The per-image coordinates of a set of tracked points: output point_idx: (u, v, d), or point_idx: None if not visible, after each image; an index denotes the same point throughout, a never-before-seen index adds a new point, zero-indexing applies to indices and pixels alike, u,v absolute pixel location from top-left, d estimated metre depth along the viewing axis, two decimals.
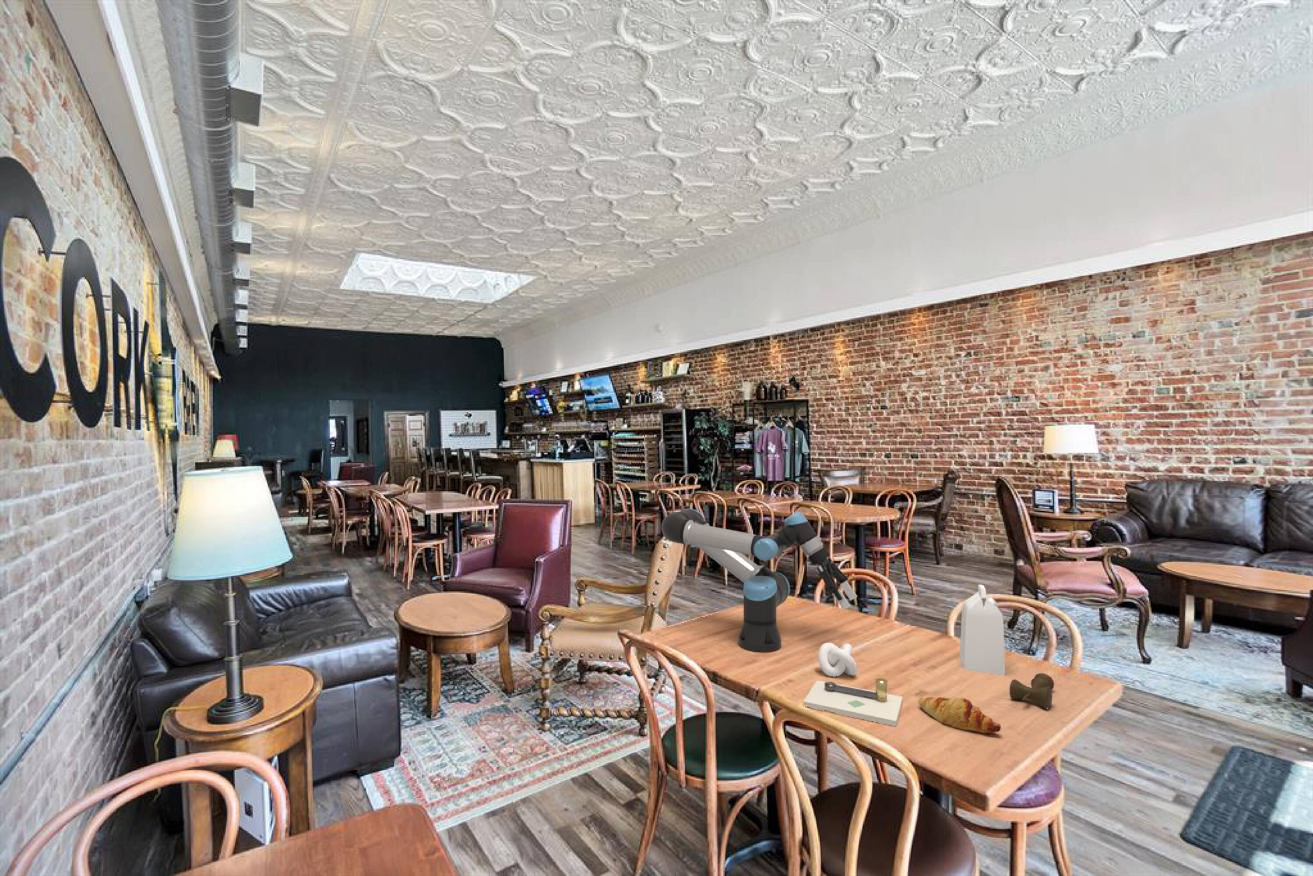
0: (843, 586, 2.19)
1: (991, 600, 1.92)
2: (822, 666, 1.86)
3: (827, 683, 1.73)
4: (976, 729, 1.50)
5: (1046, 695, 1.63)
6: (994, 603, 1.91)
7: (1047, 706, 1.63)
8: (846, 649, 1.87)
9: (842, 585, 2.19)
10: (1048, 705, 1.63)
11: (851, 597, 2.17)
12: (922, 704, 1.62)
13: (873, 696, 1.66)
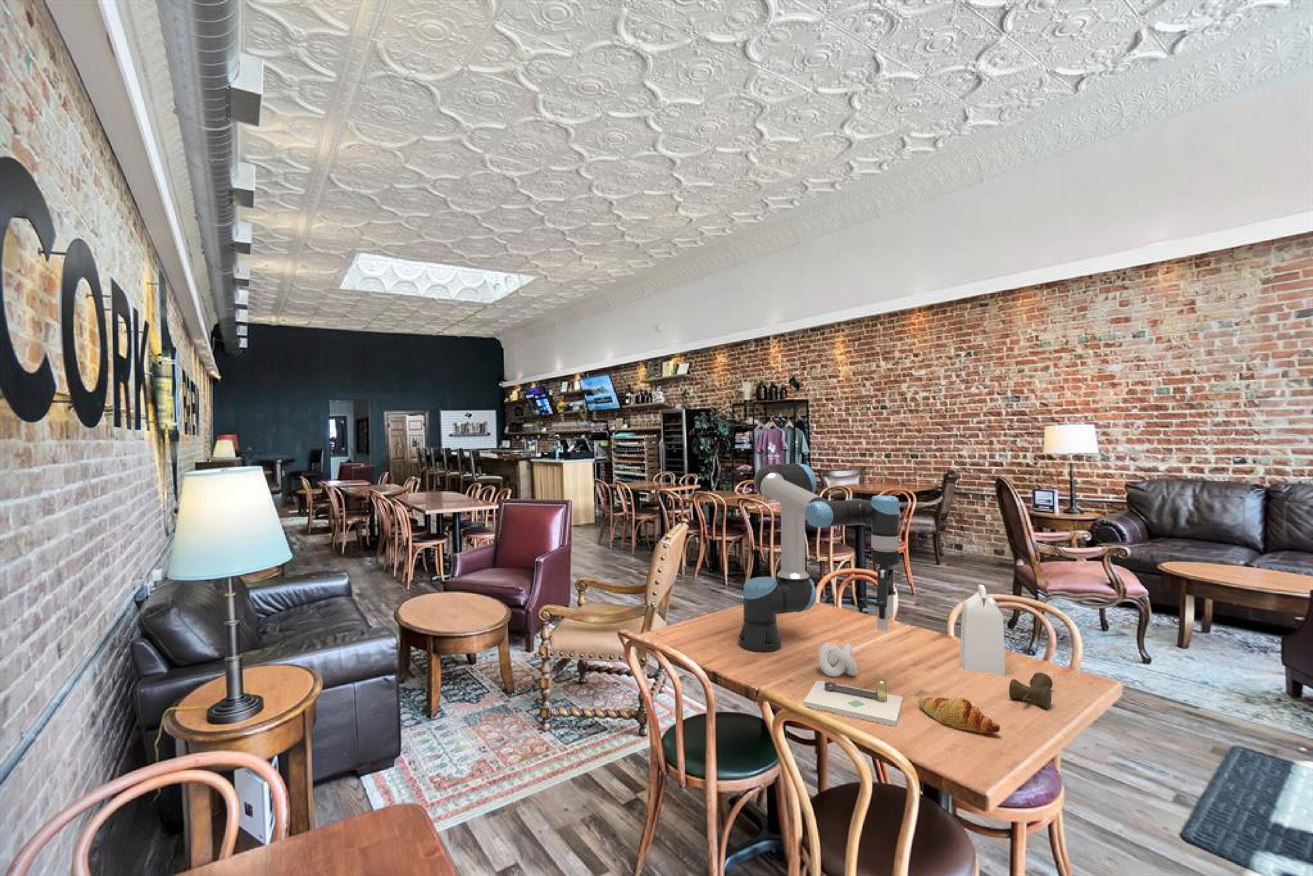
0: None
1: (991, 600, 1.92)
2: (822, 666, 1.86)
3: (827, 683, 1.73)
4: (975, 730, 1.50)
5: (1045, 695, 1.63)
6: (994, 603, 1.91)
7: (1047, 706, 1.63)
8: (846, 649, 1.87)
9: None
10: (1048, 705, 1.64)
11: None
12: (922, 704, 1.62)
13: (873, 696, 1.66)
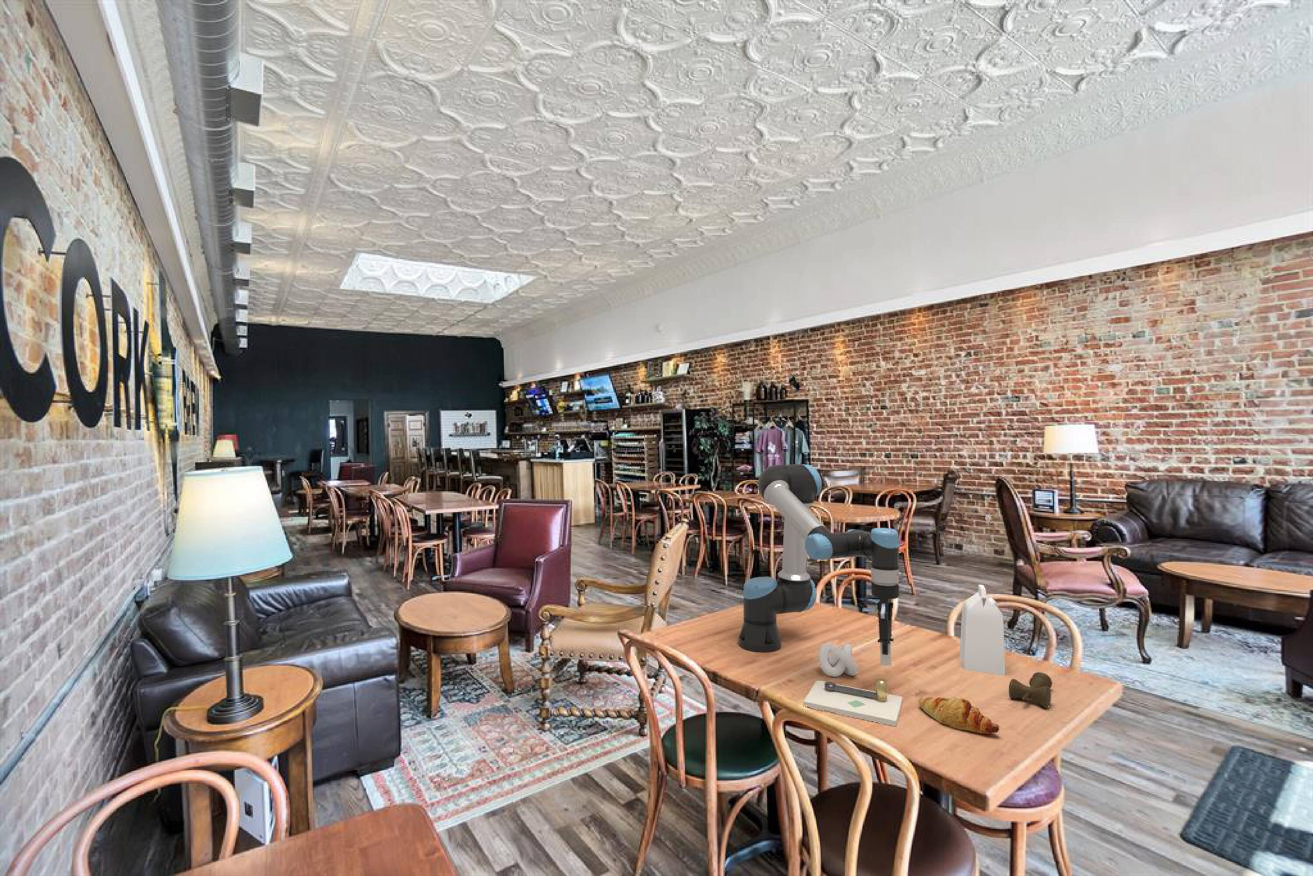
0: None
1: (991, 600, 1.92)
2: (822, 666, 1.86)
3: (827, 683, 1.73)
4: (974, 730, 1.50)
5: (1045, 694, 1.63)
6: (994, 603, 1.91)
7: (1046, 705, 1.63)
8: (846, 649, 1.87)
9: None
10: (1047, 704, 1.64)
11: None
12: (921, 704, 1.62)
13: (873, 696, 1.66)
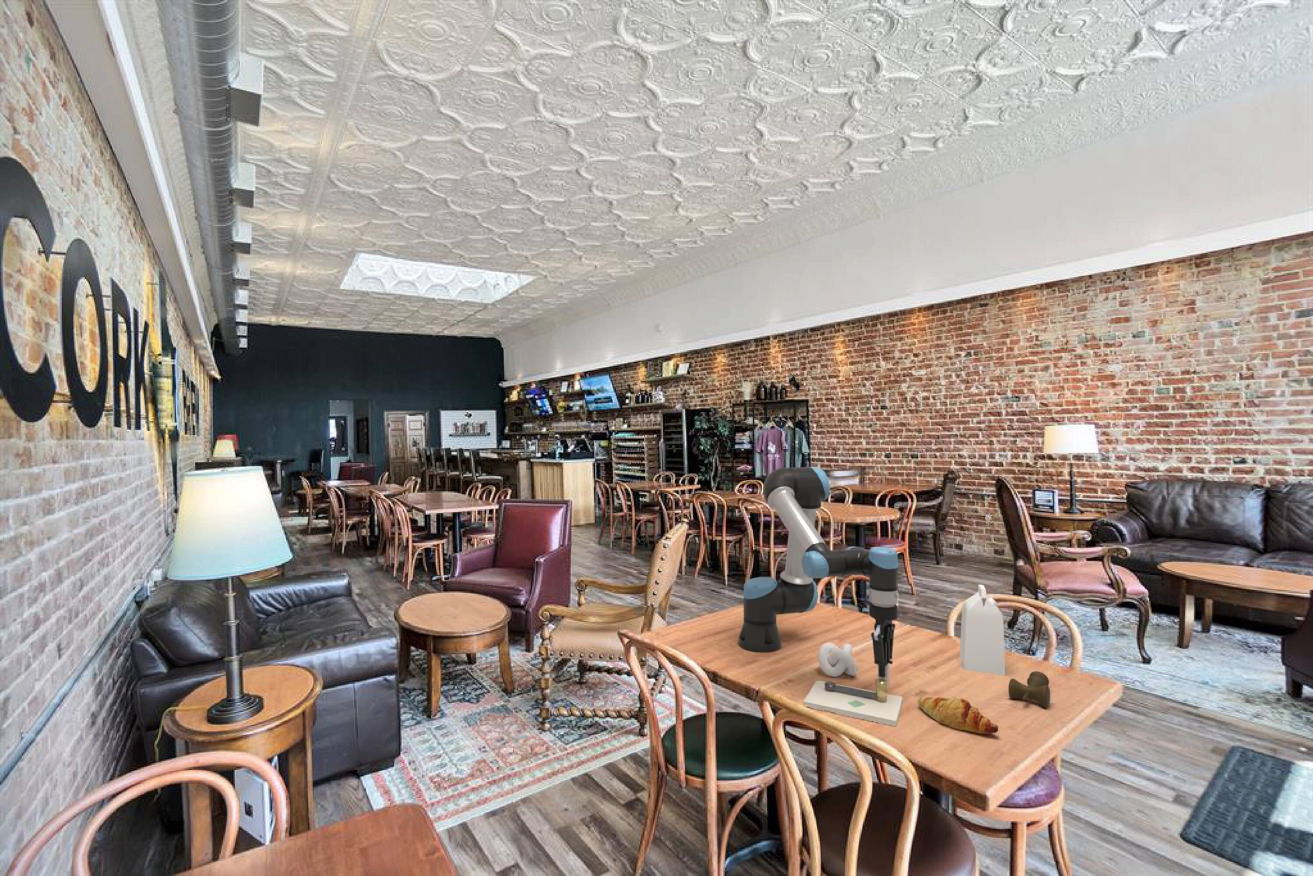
0: None
1: (991, 600, 1.92)
2: (822, 666, 1.86)
3: (827, 683, 1.73)
4: (973, 730, 1.50)
5: (1045, 694, 1.64)
6: (994, 603, 1.91)
7: (1046, 705, 1.64)
8: (846, 649, 1.87)
9: None
10: (1047, 704, 1.64)
11: None
12: (921, 704, 1.62)
13: (873, 696, 1.66)
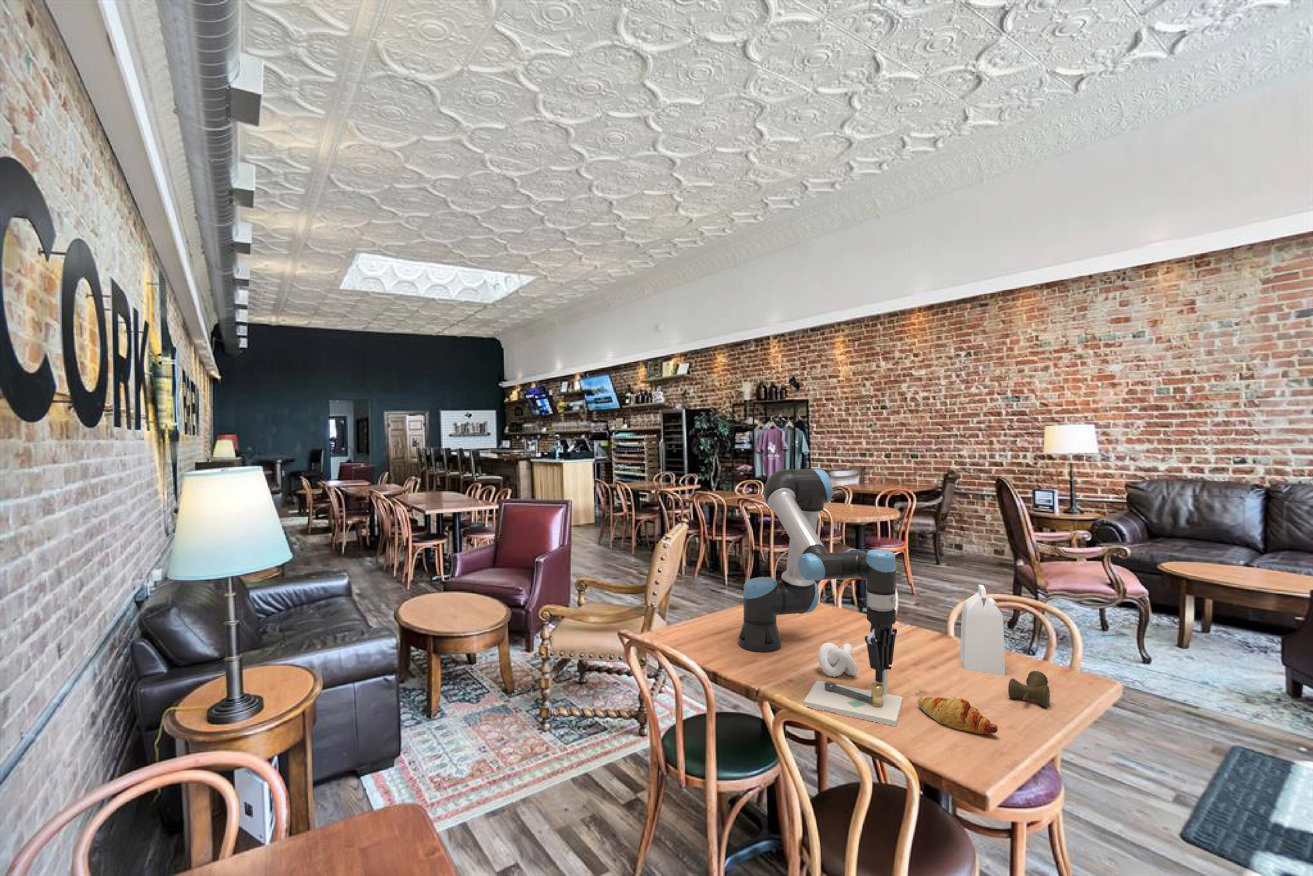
0: None
1: (991, 600, 1.92)
2: (822, 666, 1.86)
3: (827, 683, 1.73)
4: (972, 730, 1.50)
5: (1045, 694, 1.64)
6: (994, 603, 1.91)
7: (1046, 704, 1.64)
8: (846, 649, 1.87)
9: None
10: (1047, 703, 1.64)
11: None
12: (921, 704, 1.62)
13: (868, 700, 1.64)
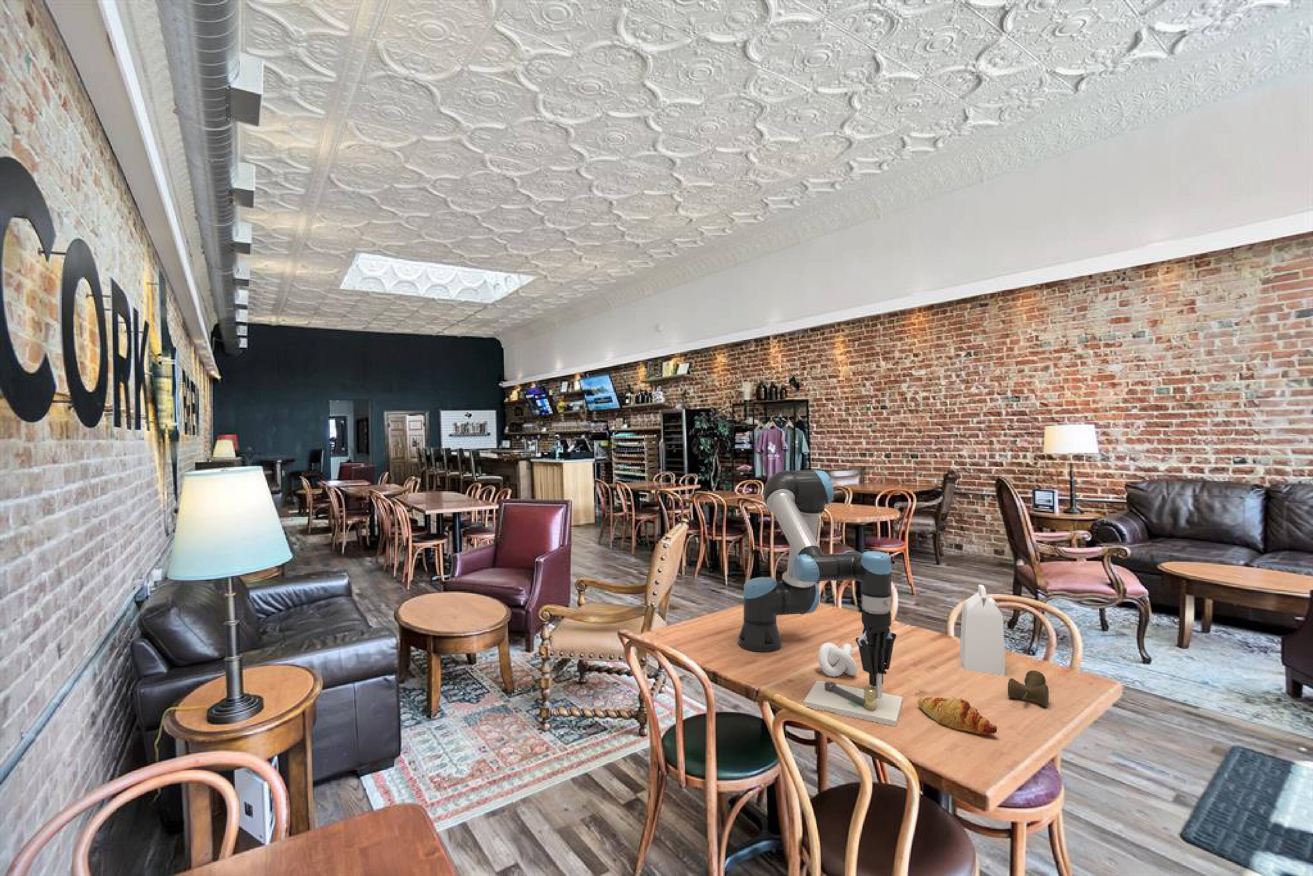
0: None
1: (991, 600, 1.92)
2: (822, 666, 1.86)
3: (828, 683, 1.73)
4: (972, 730, 1.50)
5: (1045, 693, 1.64)
6: (994, 603, 1.91)
7: (1046, 704, 1.64)
8: (846, 649, 1.87)
9: None
10: (1046, 703, 1.65)
11: None
12: (921, 704, 1.62)
13: (862, 703, 1.62)
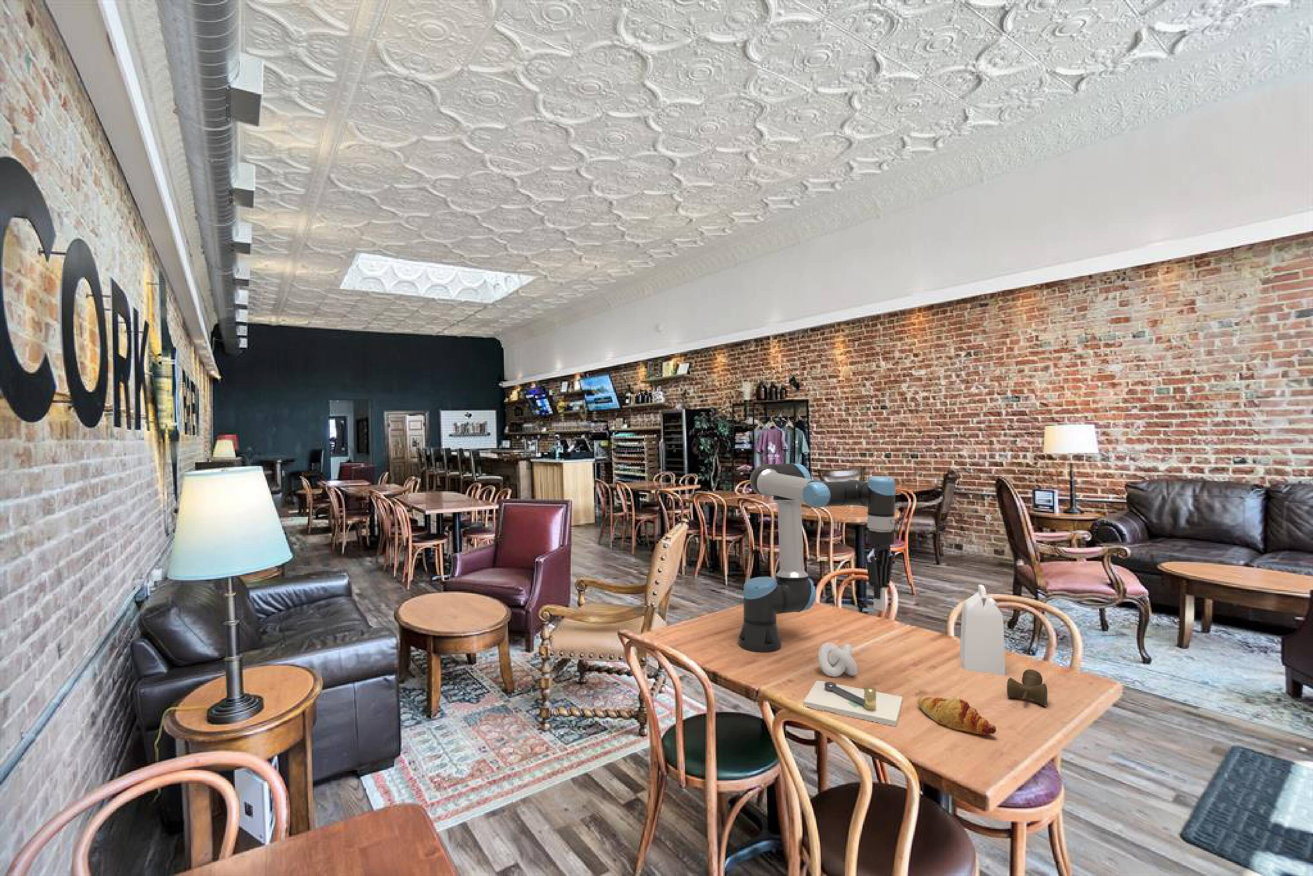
0: None
1: (991, 600, 1.92)
2: (822, 666, 1.86)
3: (828, 683, 1.73)
4: (971, 731, 1.50)
5: (1044, 692, 1.64)
6: (994, 603, 1.91)
7: (1045, 703, 1.65)
8: (846, 649, 1.87)
9: None
10: (1046, 702, 1.65)
11: None
12: (920, 704, 1.62)
13: (862, 703, 1.62)
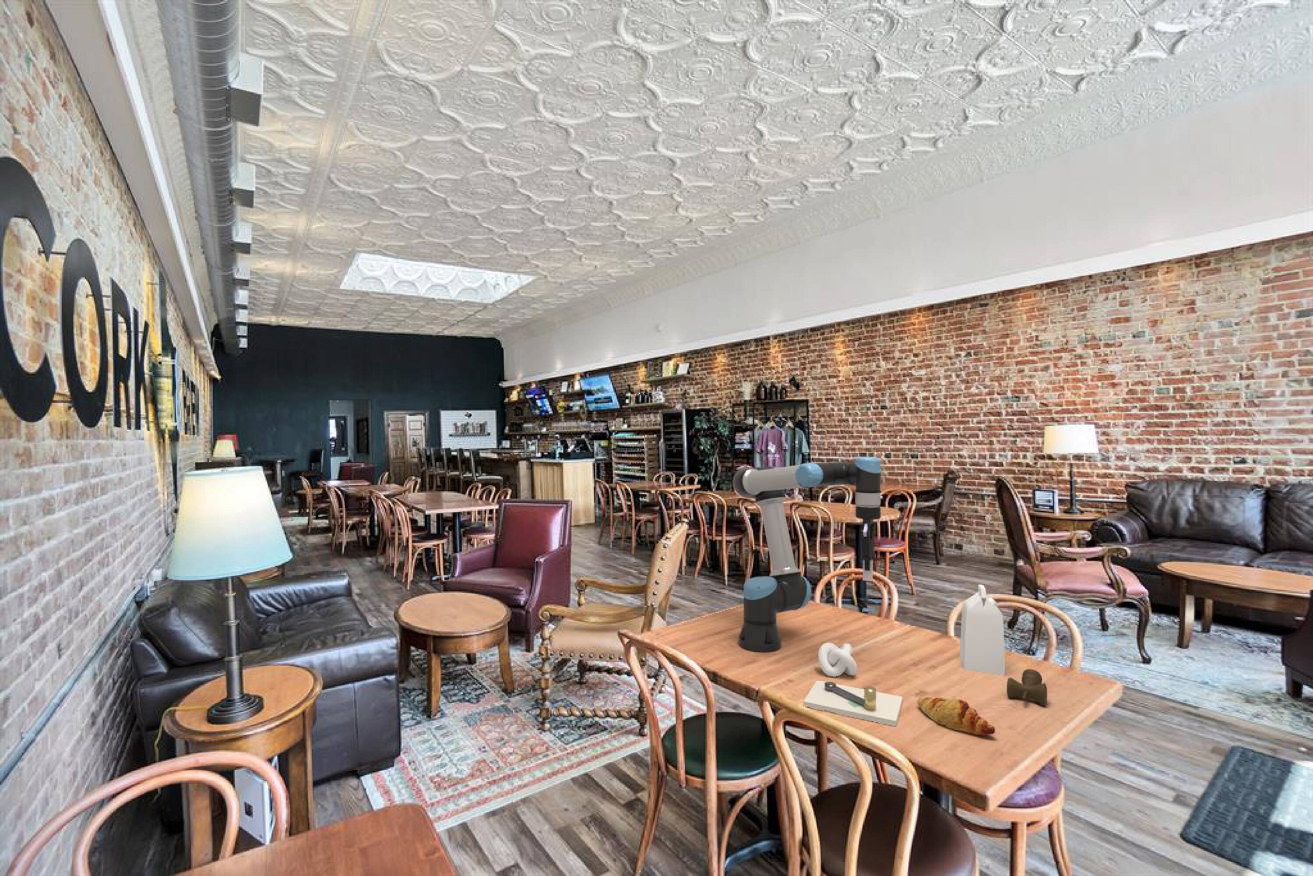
0: None
1: (991, 600, 1.92)
2: (822, 666, 1.86)
3: (828, 683, 1.73)
4: (970, 731, 1.50)
5: (1044, 692, 1.65)
6: (994, 603, 1.91)
7: (1045, 703, 1.65)
8: (846, 649, 1.87)
9: None
10: (1046, 702, 1.65)
11: None
12: (920, 704, 1.62)
13: (862, 703, 1.62)
